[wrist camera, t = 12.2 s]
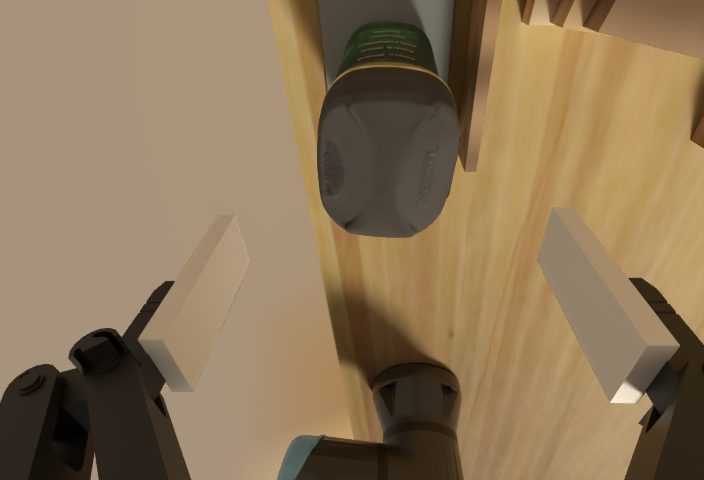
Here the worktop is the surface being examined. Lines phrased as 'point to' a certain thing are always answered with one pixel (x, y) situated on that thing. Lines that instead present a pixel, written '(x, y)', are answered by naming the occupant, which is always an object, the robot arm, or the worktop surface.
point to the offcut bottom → (539, 12)
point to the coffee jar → (387, 134)
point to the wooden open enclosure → (479, 77)
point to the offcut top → (652, 23)
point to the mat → (390, 6)
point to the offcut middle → (573, 15)
